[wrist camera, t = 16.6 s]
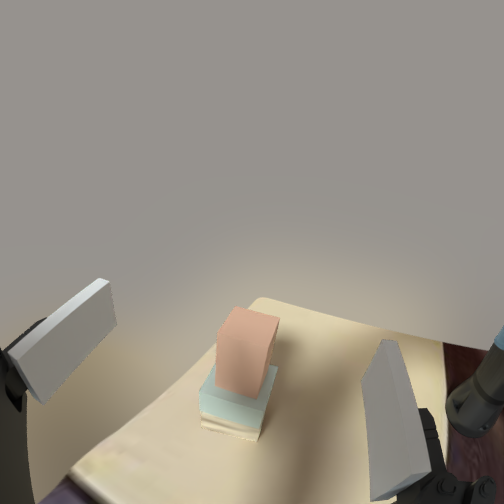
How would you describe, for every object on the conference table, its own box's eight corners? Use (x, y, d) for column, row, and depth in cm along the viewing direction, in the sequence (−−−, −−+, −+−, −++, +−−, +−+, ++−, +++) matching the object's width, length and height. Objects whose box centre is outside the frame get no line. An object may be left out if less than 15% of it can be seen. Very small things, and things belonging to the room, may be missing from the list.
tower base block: (256, 442, 35) (261, 428, 33) (201, 428, 36) (200, 412, 34) (266, 401, 43) (271, 385, 41) (217, 389, 44) (218, 372, 42)
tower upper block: (258, 429, 33) (264, 411, 31) (199, 410, 34) (199, 391, 33) (272, 386, 41) (278, 366, 39) (220, 371, 43) (222, 351, 41)
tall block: (256, 399, 33) (268, 347, 29) (214, 385, 34) (217, 332, 30) (268, 370, 38) (279, 317, 34) (230, 358, 39) (235, 306, 35)
